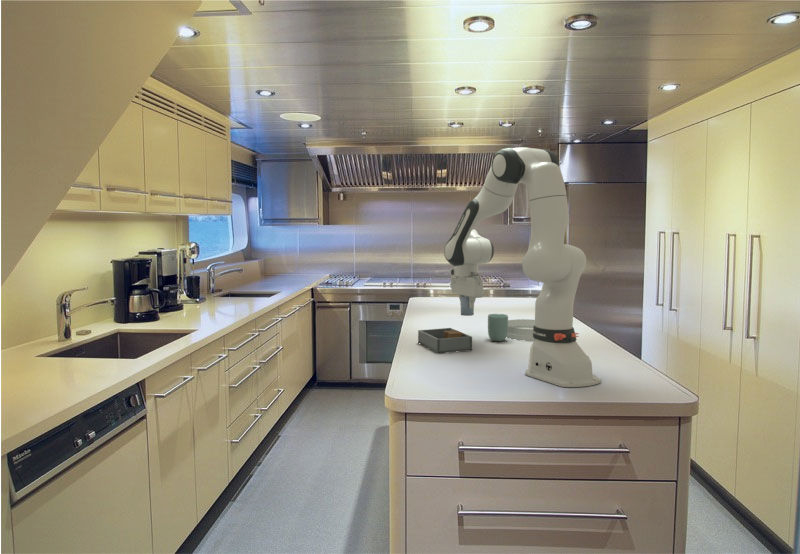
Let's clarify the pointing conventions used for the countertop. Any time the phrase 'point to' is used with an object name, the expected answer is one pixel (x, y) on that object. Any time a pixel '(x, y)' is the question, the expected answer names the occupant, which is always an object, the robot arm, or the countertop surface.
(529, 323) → the dish
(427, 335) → the tote
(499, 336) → the cup
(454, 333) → the walnut cube
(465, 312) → the blue cylinder
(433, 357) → the countertop surface
